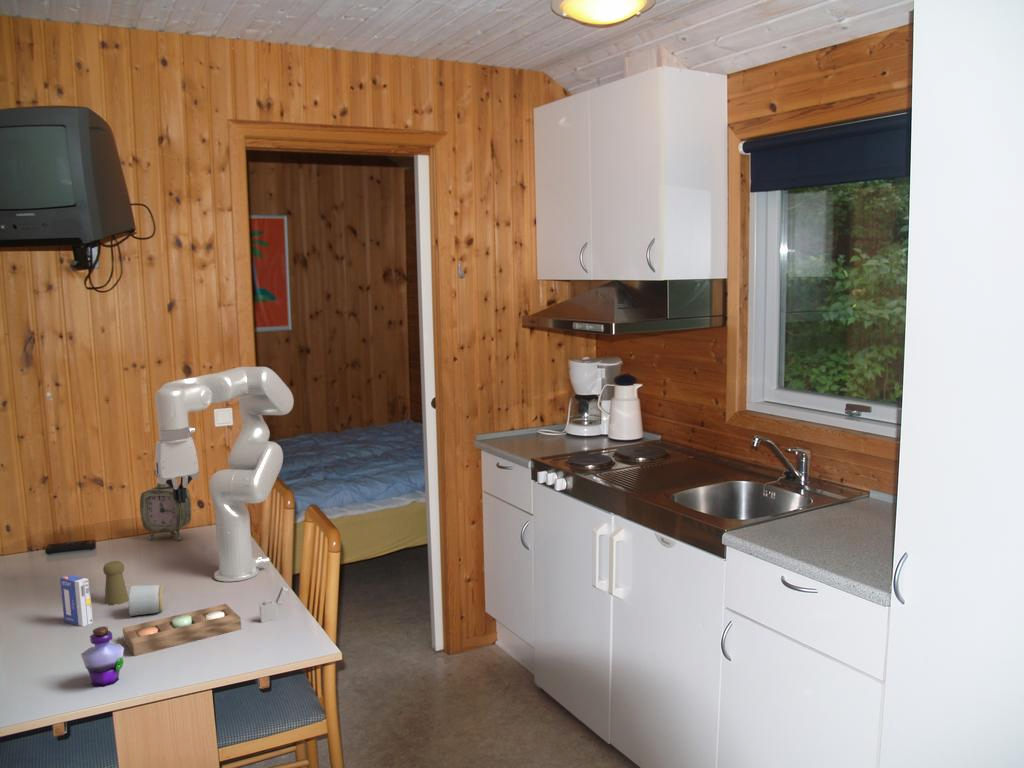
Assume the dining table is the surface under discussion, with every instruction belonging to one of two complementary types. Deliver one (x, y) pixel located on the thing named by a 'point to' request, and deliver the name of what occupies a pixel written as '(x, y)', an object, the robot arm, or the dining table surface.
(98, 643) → the potion bottle
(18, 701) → the dining table surface
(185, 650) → the dining table surface
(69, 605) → the walkman
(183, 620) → the sage button
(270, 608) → the lighter
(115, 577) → the cork
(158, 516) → the tabletop clock
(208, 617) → the cream button
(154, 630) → the terracotta button
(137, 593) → the ceramic mug
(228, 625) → the button deck
